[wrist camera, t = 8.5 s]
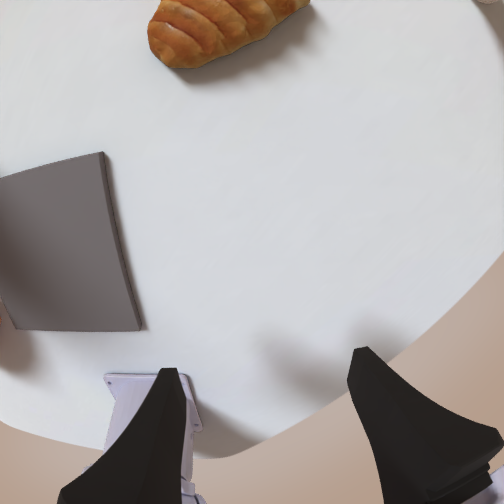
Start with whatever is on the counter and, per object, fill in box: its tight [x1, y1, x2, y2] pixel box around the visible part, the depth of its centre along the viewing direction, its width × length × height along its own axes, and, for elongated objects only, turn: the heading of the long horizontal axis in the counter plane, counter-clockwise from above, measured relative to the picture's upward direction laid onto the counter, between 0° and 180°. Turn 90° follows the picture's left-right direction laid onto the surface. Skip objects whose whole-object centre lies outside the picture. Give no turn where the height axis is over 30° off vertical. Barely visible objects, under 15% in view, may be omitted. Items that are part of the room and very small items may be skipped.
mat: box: [0, 152, 142, 332], centre depth 18 cm, size 13×13×1 cm
